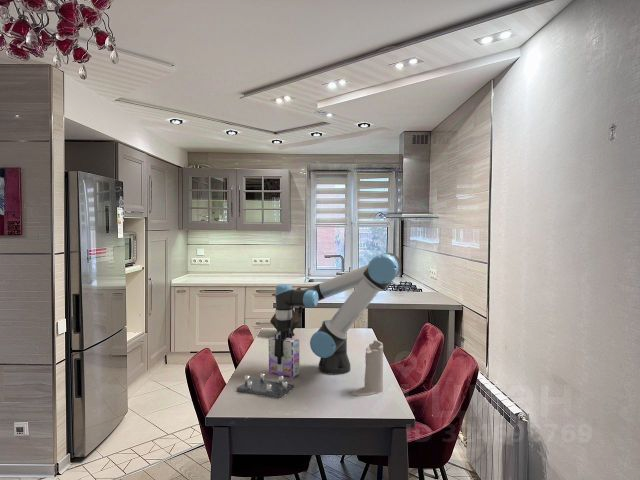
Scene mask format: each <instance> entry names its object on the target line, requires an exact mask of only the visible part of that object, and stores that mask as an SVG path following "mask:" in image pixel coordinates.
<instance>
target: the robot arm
mask: <svg viewBox="0 0 640 480" xmlns="http://www.w3.org/2000/svg"><path fill="white" fill-rule="evenodd" d="M401 271H402V261H401V260H400V258H399V256H398V255H396V254H394V253H392V252H384V253H380V254H378V255H375V256H374V257H373V258H371V260H370V261H369V262H368V264H367V265H366V264H365V265H364V266H361V267H358V268H356V269H353V270H351V271H348V272H346V273H342V274H340V275H337V276H335V277H333V278H330V279H328V280H325V281H323V282H320V283H318V284H315V285H311V286H310V287H307V288H305V289H301V290H296V289H293V286H292V285H291V284H289V283H288V284H287V283H286V284H284V283H283V284H282V283H281V284H277V285H276V286H275V293H276V294H275V296H274V297H275V311H274V312H275V313H276V318H277V319H276V327H277V328H278V334H277V333H275V334H274V336H275V353H274V356H275V357H277V371H282V372H283V357H282V355H283V342H284V341H285V340H286V338H293V337H294V336H292V333H293V332H294V330H293V329H290V328H291V327H292V319H291V318H292V306H293V307H298V308H299V307H303V308H315V307H317V305H318V304H319V302H320V301H323V300H325V299H327V298H330V297H333V296H335V295H338V294H340V293H341V294H342V293H343V292H346V291H348V290H353V289H354V288H355V289H354V290H353V291H352V292H351V293H350V295H349V297H347V299H346V300H345V301H344V302H343V304H342V305H341V307H340V308H339V309H338V310H337V311H336V313H335V314H334V315H333V317H332V318H331V319H327V320H323V321H322V323H321V326H320V327H319V328H318V330H317V331H316V332H314V333H313V334H312V336H311V337H310V339H309V346H310V349H311V351H312V353H313V354H314V355H315V356H316V357H319V358H320V359H319V361H318V371H319V372H321V373H323V374H327V375H341V374H342V375H343V374H346V373H349V372H350V371H351V362H350V358H349V356H348V348H347V347H348V344H347V342H348V331H349V330H350V328H351V327H352V326H353V325H354V323H355V322H356V321H357V320H358V319H359V317H360V316H361V315H362V313H363V312H364V311H365V310H366V309H367V307H368V306H369V305H370V303H372V301H373V300H374V298H375V297H376V296H377V294H378V293H379V292H385V290H387V288H388V287H389V286H390V284H392V282H393V280H394V279H395V278H397V277H398V276H399V274H400V272H401ZM281 339H283V340H281Z"/></svg>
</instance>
